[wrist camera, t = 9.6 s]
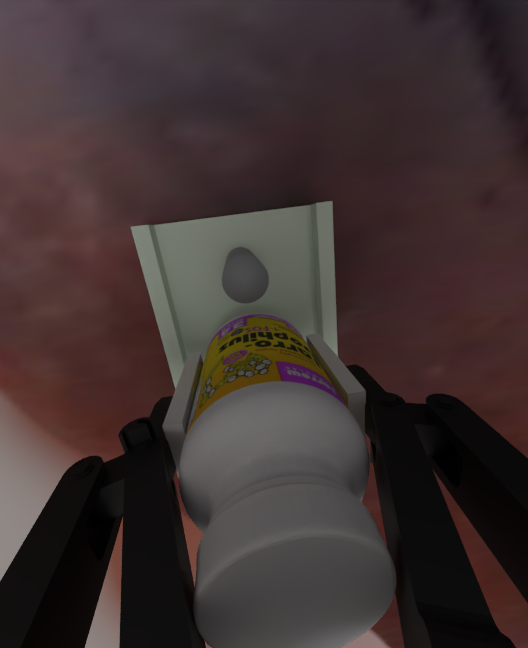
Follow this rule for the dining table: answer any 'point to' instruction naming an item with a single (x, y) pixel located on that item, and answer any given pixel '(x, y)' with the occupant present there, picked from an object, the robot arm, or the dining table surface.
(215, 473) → the supplement bottle
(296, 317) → the tray
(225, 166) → the dining table surface
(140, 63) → the dining table surface
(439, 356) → the dining table surface
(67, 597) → the robot arm
